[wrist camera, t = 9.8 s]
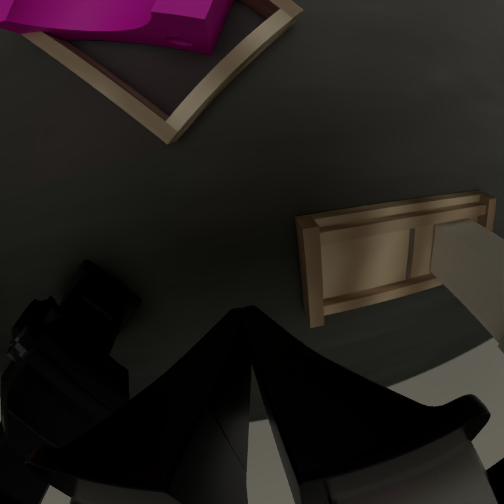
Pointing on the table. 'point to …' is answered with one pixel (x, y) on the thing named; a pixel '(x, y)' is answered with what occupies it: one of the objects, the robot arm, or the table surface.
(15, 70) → the table surface
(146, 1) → the toy block
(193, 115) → the block pen
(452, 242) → the block
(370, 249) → the wooden tray
